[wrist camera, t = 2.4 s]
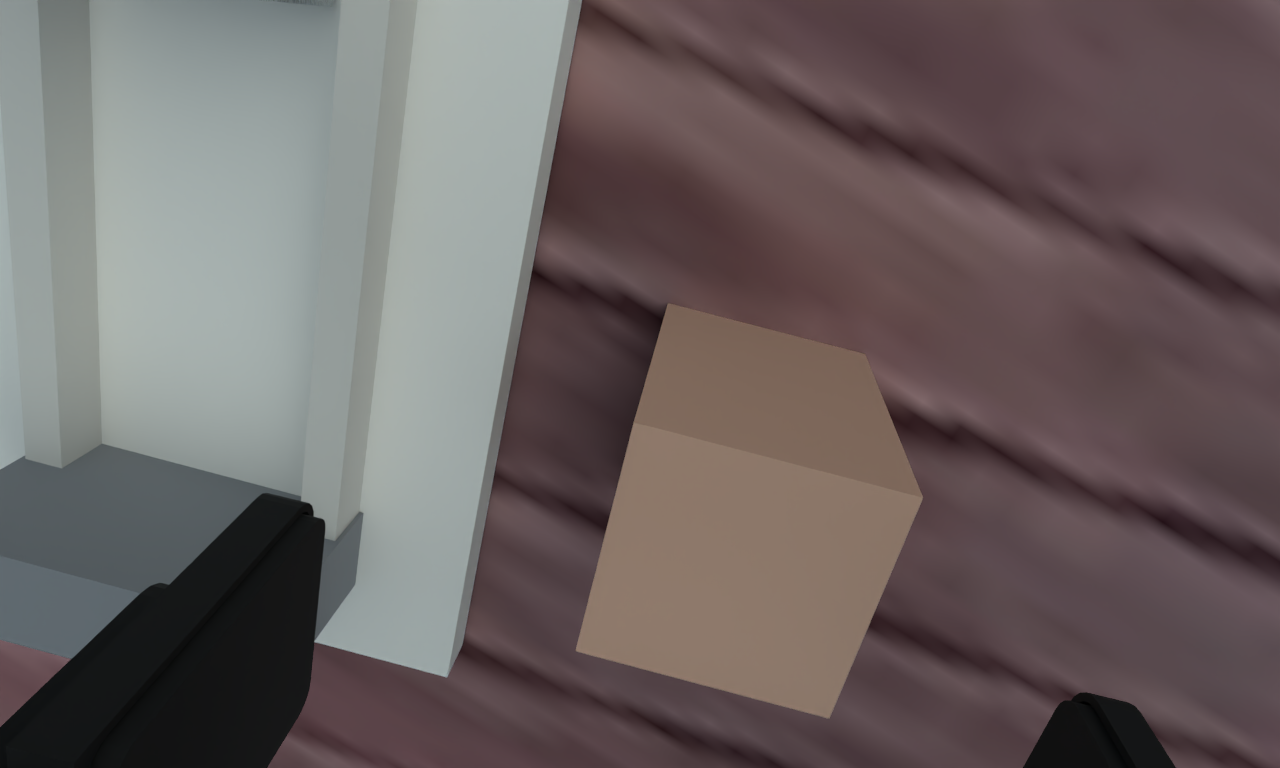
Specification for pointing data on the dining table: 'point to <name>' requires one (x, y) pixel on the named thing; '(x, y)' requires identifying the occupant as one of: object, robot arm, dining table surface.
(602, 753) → the dining table surface
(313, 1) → the grey sliding carriage block
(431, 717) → the dining table surface
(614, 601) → the block
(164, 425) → the grey slide rail track
